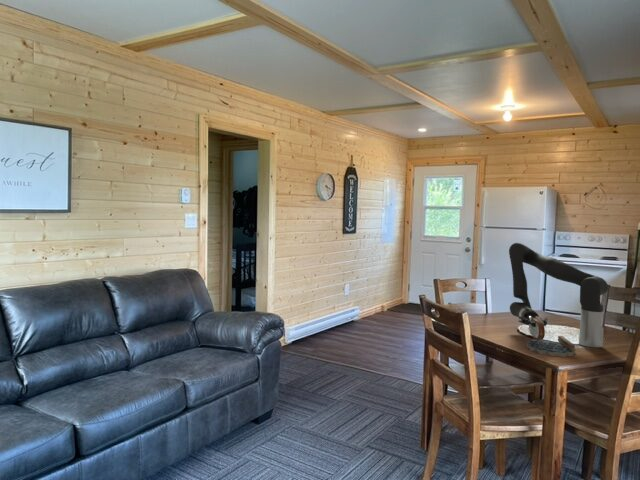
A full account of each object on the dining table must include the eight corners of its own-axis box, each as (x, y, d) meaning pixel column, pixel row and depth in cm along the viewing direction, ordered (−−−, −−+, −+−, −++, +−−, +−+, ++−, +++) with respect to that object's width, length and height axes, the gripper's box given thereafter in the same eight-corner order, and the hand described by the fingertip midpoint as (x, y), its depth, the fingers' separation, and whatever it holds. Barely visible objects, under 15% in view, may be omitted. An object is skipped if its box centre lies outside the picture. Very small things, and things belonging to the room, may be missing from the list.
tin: (544, 341, 211) (546, 323, 210) (537, 341, 211) (539, 323, 211) (533, 332, 226) (535, 315, 225) (526, 332, 226) (528, 315, 226)
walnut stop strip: (562, 341, 224) (562, 336, 224) (574, 350, 208) (574, 345, 208) (557, 340, 224) (558, 335, 224) (569, 350, 209) (570, 345, 208)
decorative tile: (517, 346, 221) (517, 341, 221) (547, 343, 229) (547, 338, 229) (553, 359, 203) (553, 354, 203) (584, 355, 211) (585, 350, 211)
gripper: (514, 307, 233) (523, 316, 216) (544, 309, 231) (555, 318, 214) (513, 322, 234) (521, 331, 217) (543, 324, 231) (554, 334, 214)
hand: (538, 325), depth 215 cm, fingers closed on tin, 3 cm apart
